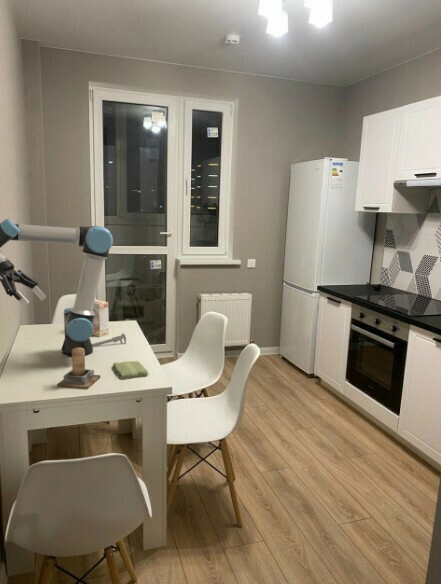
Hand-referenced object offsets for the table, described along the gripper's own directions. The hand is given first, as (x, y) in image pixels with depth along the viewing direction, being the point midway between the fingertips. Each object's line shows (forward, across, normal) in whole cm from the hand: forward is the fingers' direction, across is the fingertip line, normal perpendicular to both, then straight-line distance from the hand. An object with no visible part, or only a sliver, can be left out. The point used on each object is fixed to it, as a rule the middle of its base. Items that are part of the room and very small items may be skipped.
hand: (35, 301), depth 184 cm
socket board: (+38, +7, -7) cm, 39 cm away
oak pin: (+37, +7, -6) cm, 38 cm away
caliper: (+32, -45, -13) cm, 57 cm away
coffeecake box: (+22, -65, -24) cm, 72 cm away
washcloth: (+50, -9, +4) cm, 51 cm away
